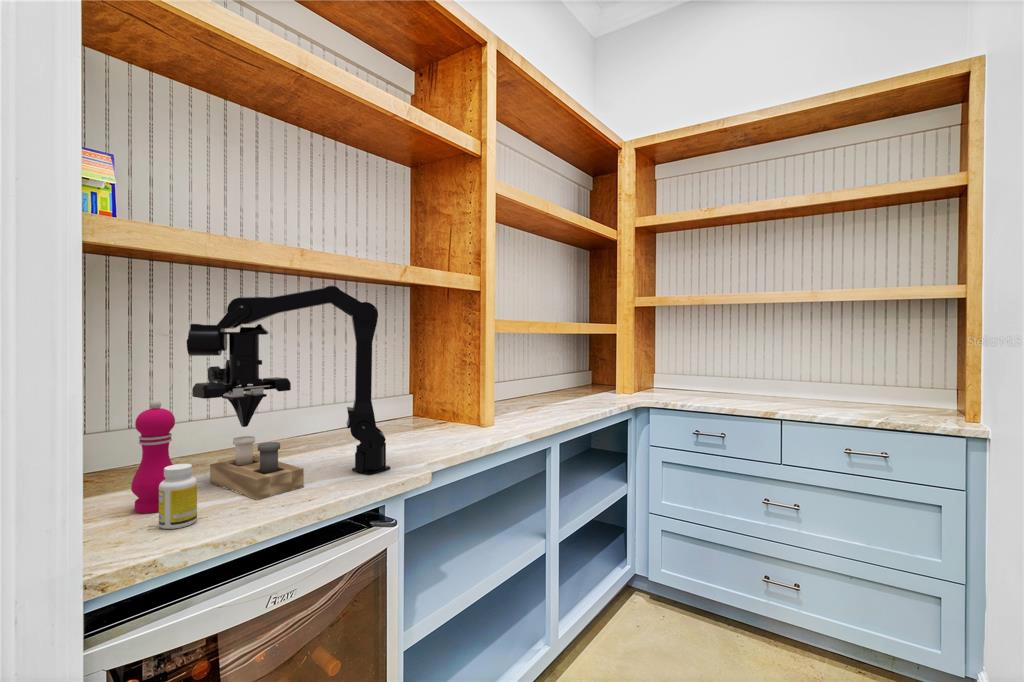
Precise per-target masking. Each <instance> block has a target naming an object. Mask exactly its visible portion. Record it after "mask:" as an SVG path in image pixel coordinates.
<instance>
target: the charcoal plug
mask: <svg viewBox="0 0 1024 682" xmlns="http://www.w3.org/2000/svg"><path fill="white" fill-rule="evenodd" d="M280 449H281V442H279V441H278V442H277V441H269V442H263V443H258V444H257V451H258V452H259V456H260V473H261V474H269V473H273V472H277V471H278V461H279V450H280Z"/></svg>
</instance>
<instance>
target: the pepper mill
mask: <svg viewBox="0 0 1024 682" xmlns="http://www.w3.org/2000/svg"><path fill="white" fill-rule="evenodd" d="M161 407H162V402H161V401H160V400H157V399H154V400H152V401H151V402H150V403H149V409H145V410H143V411H142V412H140V413H139V414H138V415H137V417H136V418H135V425H134V426H135V429H136V431H137V432H138V433H140V436H138V439H139V441H138V444H139V445H140V446H141V449H142V456H141V460H140V463H139V466H138V468H137V470H136V472H135V474H134V476H133V478H132V481H131V488H130V489H131V492H132V494H133V495H134V496H136V497H137V499H135V501H134V511H135V513H139V514H152V513H153V514H155V513H159V485H160V483H161V482H162V481H163V480H165V479H166V477H164V468H165V467H167V466H171V465H174V464H173V462H172V461H171V458H170V451H169V449H170V443H171V442H172V441H173V439H172V436H173V433H171V430H173V428H174V427H175V424H176V418H175V415H174V414H173V412H172V411H170V410H169V409H166V408H161Z"/></svg>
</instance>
